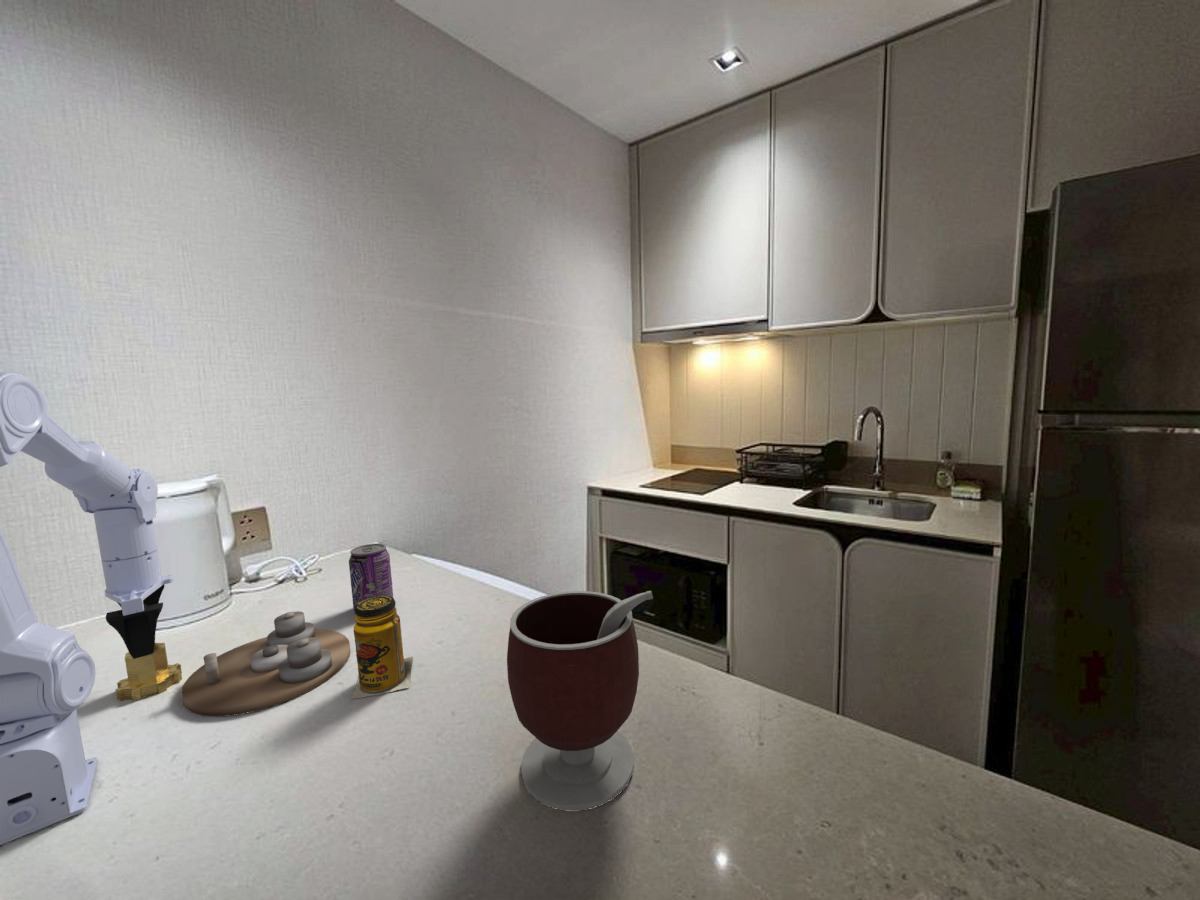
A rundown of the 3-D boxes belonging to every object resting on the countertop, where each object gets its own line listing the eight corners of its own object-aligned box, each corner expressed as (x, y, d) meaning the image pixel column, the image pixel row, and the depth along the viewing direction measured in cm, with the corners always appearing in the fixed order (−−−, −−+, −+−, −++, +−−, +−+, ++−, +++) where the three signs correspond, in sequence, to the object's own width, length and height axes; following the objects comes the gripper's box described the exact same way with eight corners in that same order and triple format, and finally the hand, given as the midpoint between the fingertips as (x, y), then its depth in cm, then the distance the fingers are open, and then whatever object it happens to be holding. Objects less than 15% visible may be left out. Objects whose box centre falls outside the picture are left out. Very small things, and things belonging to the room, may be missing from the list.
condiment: (352, 700, 66) (343, 616, 65) (362, 667, 74) (354, 592, 73) (409, 689, 69) (402, 607, 67) (413, 658, 77) (406, 584, 75)
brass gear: (182, 686, 71) (176, 650, 70) (115, 707, 67) (109, 669, 66) (181, 666, 76) (176, 633, 76) (120, 685, 72) (114, 650, 71)
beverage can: (354, 605, 97) (348, 546, 95) (393, 597, 100) (388, 540, 98) (353, 619, 90) (346, 557, 89) (394, 611, 93) (389, 550, 92)
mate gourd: (495, 812, 48) (482, 618, 45) (533, 718, 61) (525, 564, 59) (655, 826, 46) (650, 623, 43) (657, 725, 59) (654, 566, 57)
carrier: (366, 671, 73) (363, 634, 72) (183, 740, 60) (176, 695, 59) (333, 623, 89) (329, 593, 88) (182, 669, 76) (176, 633, 75)
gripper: (166, 559, 66) (181, 654, 68) (168, 537, 77) (180, 618, 79) (92, 573, 61) (109, 674, 63) (105, 547, 72) (119, 634, 74)
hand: (144, 645), depth 71 cm, fingers open, 7 cm apart
